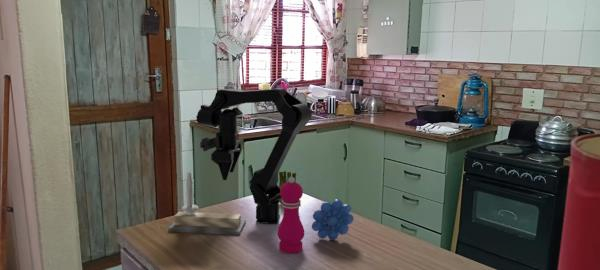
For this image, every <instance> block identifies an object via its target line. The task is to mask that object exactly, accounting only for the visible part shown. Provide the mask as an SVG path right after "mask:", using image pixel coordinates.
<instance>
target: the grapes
mask: <svg viewBox="0 0 600 270" xmlns="http://www.w3.org/2000/svg"><path fill="white" fill-rule="evenodd" d="M351 211H352V206H351V205H350V204H347V203H346V204H343V202H342V200H341V199H337V198H336V199H335V200H333V201H332V202H329V201H324V202H323V203H321V205H320V209H317V210H315V211H314V213H313V215H312V219H314V221H313V222H312V224H311V229H312V230H313V231H314V232H317V237H318V238H319V239H326V238H327V237H328V239H329V240H330V241H334V240H336V239H338V238H339V235H341V236H344V235H346V234H348V232H349V226H348V225H351V224H352V223H353V221H354V216H353V215H352V213H351ZM350 213H351V214H350Z"/></svg>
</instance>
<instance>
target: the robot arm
mask: <svg viewBox="0 0 600 270" xmlns="http://www.w3.org/2000/svg"><path fill="white" fill-rule="evenodd" d="M271 102H272V103H273V104H274V105H275V108H276V109H277V112H279V114H281V115H282V119H281V131H280V133H279V135H278V138H277V139H276V141H275V143H274V145H273V148H272V150H271V152H270V154H269V156H268V158H267V160H266V163H265V164H264V166H263V167H262V168H259V169H258V170H255V171H254V172H253V174H252V178H251V180H250V181H248V182H249V190H250V193H251V194H252V198H253V202H254V204H256V205H255V219H256V223H257V224H271V225H272V224H274V225H275V224H276V225H277V224H278V223H279V221H280V217H281V215H280V203H279V199H281V198H282V197H281V196H280V188H279V185H278V182H279V171H281V168H282V165H283V164H284V162H285V159H286V157H287V155H288V153H289V151H290V149H291V147H292V145H293V143H294V141H295V139H296V137H297V136H298V134H299V133H300V132H301V131H302V130H303V129H304V128H305V127H306V125H307V124H308V123H309V121H310V120H311V119H312V116H313V115H312V114H313V113H312V111H311V108H310V107H309V106H308V104H305V103H303V102H301V100H300V99H298V98H297V97H296V96H294V95H292V94H290V92H289V91H287V90H286V89H285V88H284V87H275V88H271V89H270V88H269V89H258V90H257V89H256V90H243V89H241V88H234V87H233V88H223V89H218V90H217V91H216V93H215V96H214V99H213V100H212V102H210V105H208V104H201V105H200V109H199V110H198V112H197V114H196V122H197V124H198V125H199V126H204V127H212V128H216V127H217V128H218V131H217V132H216V134H215V135H214V136H211V137H207V136H206V137H205V138H202V139H201V141H200V142H199V143H200V145H199V148H202V150H203V152H207V151H208V150H211V149H214V148H215V150H213V152H211V154H210V161H212V162H213V163H215V164H216V165H217V166H218V168H219V170H220V175H221V178H222V180H223V181H227V180H228V177H229V174H230V173H234V171H235V168H236V167H237V163H238V161H239V158H240V156H241V154H242V151H243V150H244V142H243V141H242V140H240V139H239V140H238V134H239V130H238V126H237V125H238V120H237V119H238V116H242V115H243V112H242V110H240V108H239V107H236V106H240V105H244V104H251V103H253V104H254V103H255V104H256V103H271ZM232 107H233V108H232ZM230 108H232V109H230Z"/></svg>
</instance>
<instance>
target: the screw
mask: <svg viewBox="0 0 600 270" xmlns="http://www.w3.org/2000/svg"><path fill="white" fill-rule="evenodd" d="M185 183H186V184H185V185H186V186H185V187H186V190H185V191H186V204H185V205H183V206H182V207H181V210H182V212H186V215H187V216H192V215H195V211H198V210H199V206H198V205H196V204H194V202H193V201H194V197H193V196H194V192H193V188H194V187H193V186H194V185H193V180H192V173H191V172H187V173H186V182H185Z"/></svg>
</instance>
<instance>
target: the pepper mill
mask: <svg viewBox="0 0 600 270" xmlns="http://www.w3.org/2000/svg"><path fill="white" fill-rule="evenodd" d="M303 190H304V189H303V187H302V185H300V184H299V183H298V182H296V183H295V179H294V177H292V176H291V177H289V179H288V182H287V183H285V184H284V185H283V186H282V187H281V189H280V196H281V197H282V199H283V200H282V204H281V206H282V207H283V215H282V219H281V222H280V224H279V226H278V228H277V233H276V234H277V238H278V239H279V240H280V241H279V242H278V244H279V245H278V250H279V251H280V252H281V253H284V254H297V253H300V252H301V251H302V250H303V239H304V237H305V228H304V224H303V223H302V221H301V218H300V212H299V211H300V207H301V205H302V204H301V203H302V200H300V199H302V197H303V195H304V193H303V192H304V191H303Z"/></svg>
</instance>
